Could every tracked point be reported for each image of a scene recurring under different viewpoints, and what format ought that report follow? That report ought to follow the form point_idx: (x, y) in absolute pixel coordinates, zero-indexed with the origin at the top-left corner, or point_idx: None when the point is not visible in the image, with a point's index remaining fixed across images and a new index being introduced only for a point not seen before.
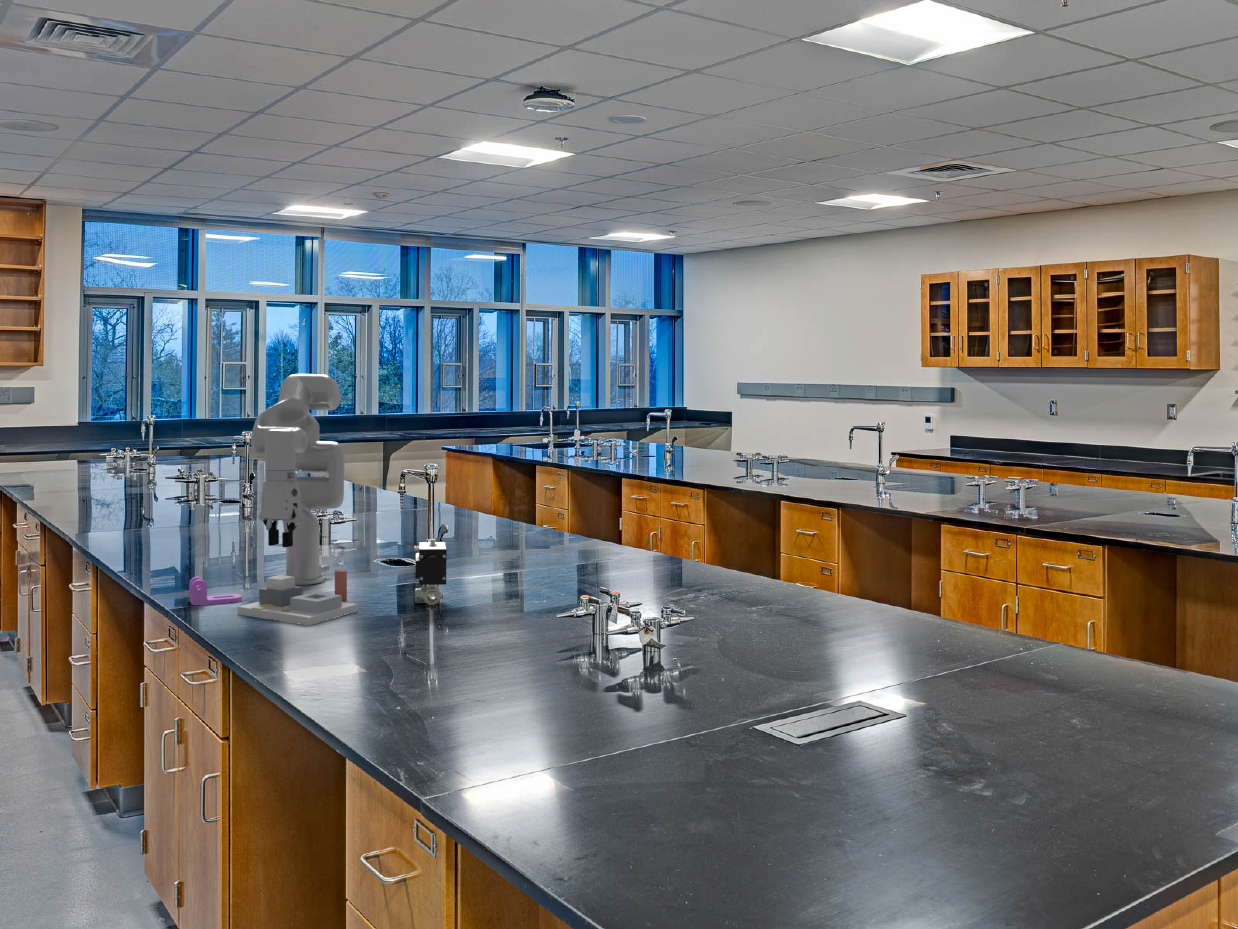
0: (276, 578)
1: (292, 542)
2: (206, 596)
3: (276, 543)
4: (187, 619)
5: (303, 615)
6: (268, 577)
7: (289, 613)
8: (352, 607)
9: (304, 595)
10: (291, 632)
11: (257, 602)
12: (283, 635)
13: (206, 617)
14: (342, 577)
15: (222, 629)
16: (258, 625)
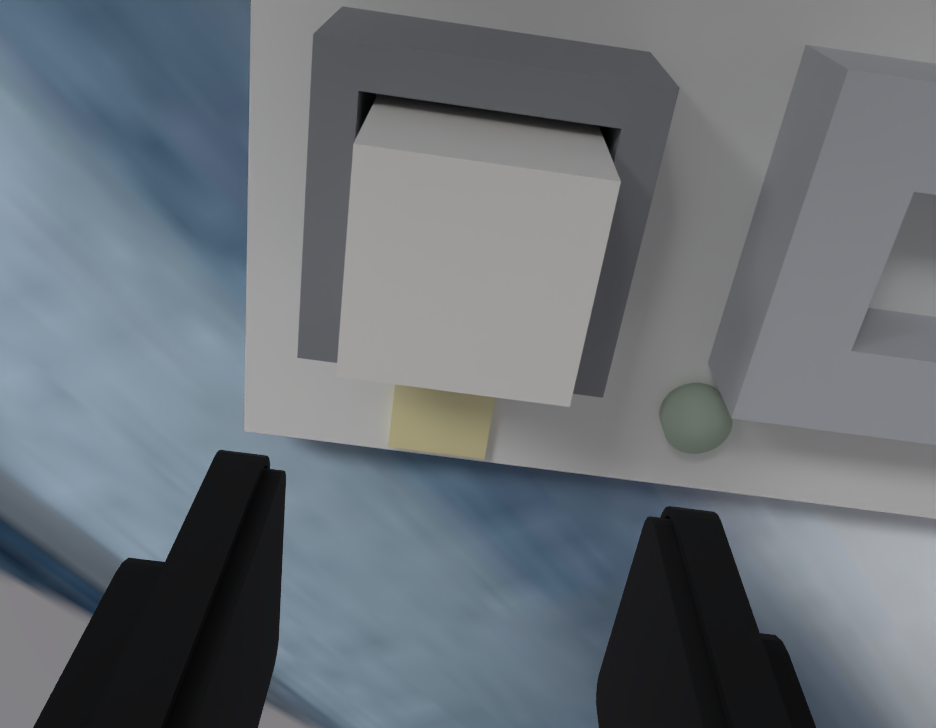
0: (467, 362)
1: (779, 641)
2: None
3: (280, 544)
4: (83, 599)
5: (912, 489)
6: (338, 348)
7: (773, 474)
8: None
9: (820, 289)
10: (906, 639)
11: (267, 248)
12: (887, 696)
13: (139, 528)
14: None
15: (466, 699)
16: (609, 578)
